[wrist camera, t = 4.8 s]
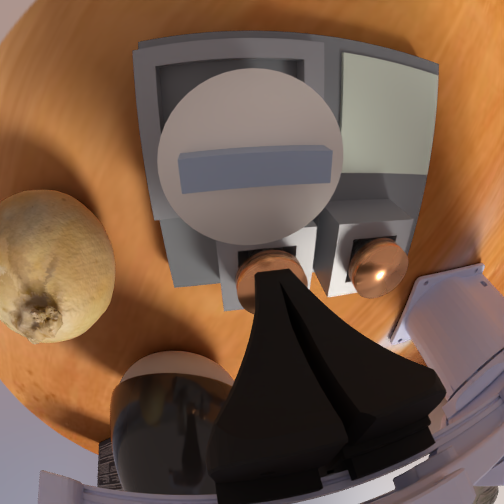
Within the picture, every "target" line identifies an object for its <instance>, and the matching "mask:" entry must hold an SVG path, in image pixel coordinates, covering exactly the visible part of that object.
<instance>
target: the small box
mask: <svg viewBox="0 0 504 504" xmlns="http://www.w3.org/2000/svg"><path fill="white" fill-rule="evenodd" d="M98 487H100V488H106V489H112V490H119V491H123V488H122V486H121V483H120V480H119V477H118V473H117V470H116V466H115V462H114V457H113V451H112V444H111V438H109V439H107V440H105V441H103V442H101V443H99V461H98Z"/></svg>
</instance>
